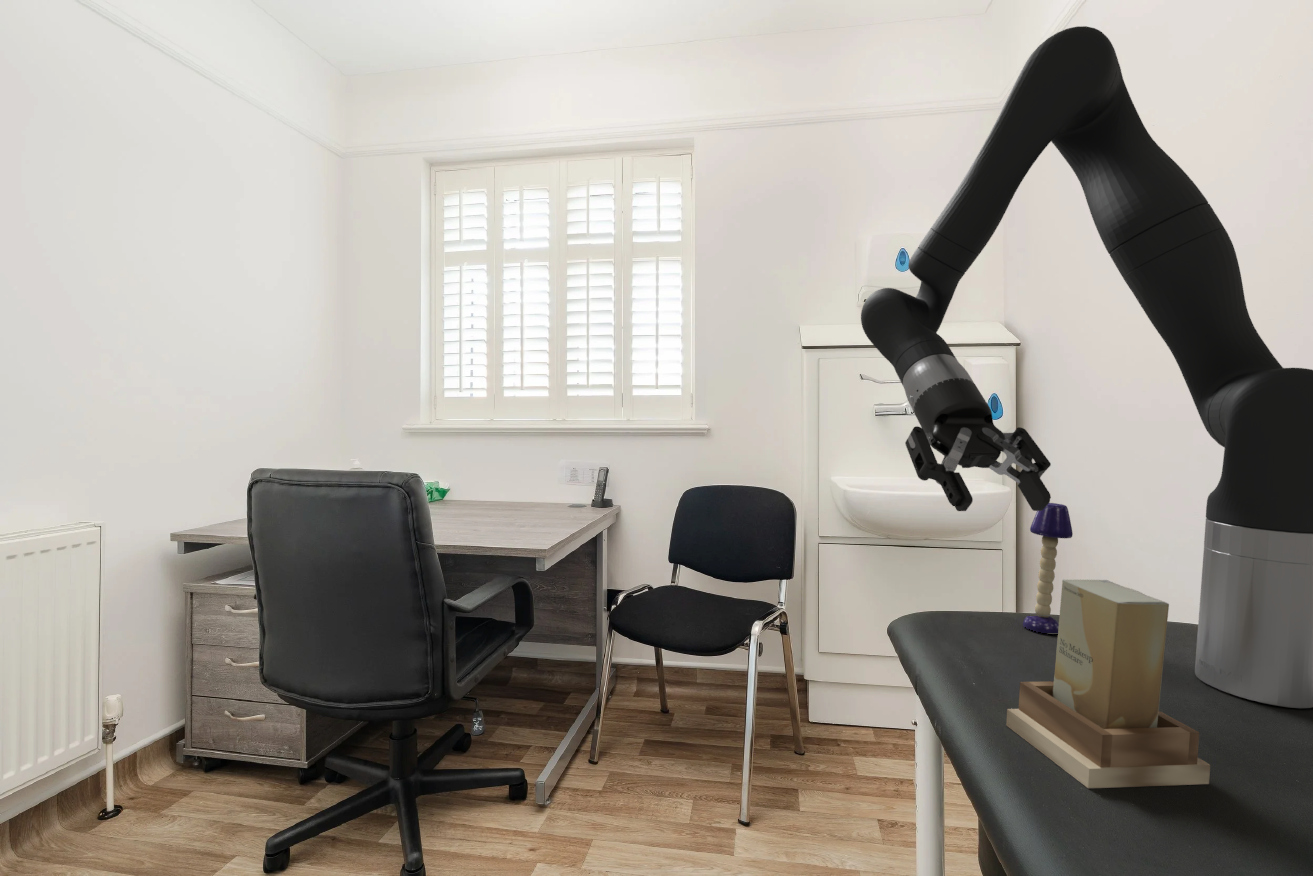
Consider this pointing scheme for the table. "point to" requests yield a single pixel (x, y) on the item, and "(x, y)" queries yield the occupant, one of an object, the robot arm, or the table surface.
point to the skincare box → (1110, 653)
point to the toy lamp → (1048, 562)
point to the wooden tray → (1107, 744)
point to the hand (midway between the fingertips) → (1004, 506)
